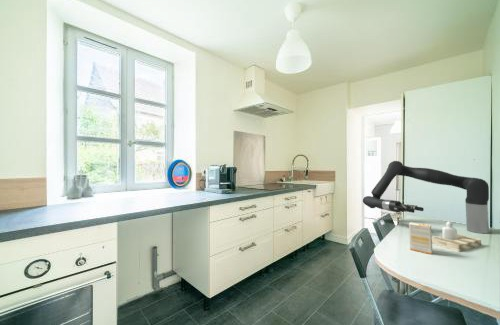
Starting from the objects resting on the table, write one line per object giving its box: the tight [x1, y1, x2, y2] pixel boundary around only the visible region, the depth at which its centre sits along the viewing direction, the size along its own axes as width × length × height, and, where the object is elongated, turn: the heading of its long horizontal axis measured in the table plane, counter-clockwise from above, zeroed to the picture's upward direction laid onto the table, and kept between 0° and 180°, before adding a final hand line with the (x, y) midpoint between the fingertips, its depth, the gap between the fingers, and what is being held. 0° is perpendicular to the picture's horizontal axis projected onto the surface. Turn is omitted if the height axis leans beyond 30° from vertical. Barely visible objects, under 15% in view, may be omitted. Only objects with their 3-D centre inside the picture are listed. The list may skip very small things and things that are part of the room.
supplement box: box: [408, 221, 433, 255], centre depth 99 cm, size 8×5×13 cm, turn 43°
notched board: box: [432, 233, 482, 253], centre depth 106 cm, size 20×11×3 cm, turn 110°
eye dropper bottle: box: [441, 219, 458, 241], centre depth 108 cm, size 4×6×12 cm
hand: (418, 210), depth 122 cm, fingers open, 8 cm apart
